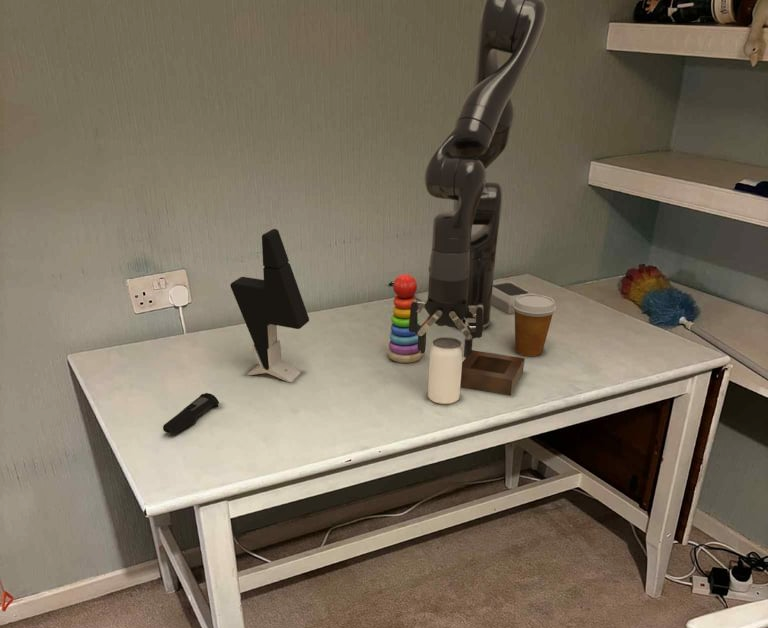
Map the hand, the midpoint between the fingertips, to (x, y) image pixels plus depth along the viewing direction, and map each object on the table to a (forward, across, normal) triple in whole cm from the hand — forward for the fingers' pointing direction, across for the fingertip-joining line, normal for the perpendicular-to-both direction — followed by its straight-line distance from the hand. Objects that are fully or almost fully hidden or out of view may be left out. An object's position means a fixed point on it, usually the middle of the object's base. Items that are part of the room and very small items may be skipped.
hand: (444, 354), depth 153 cm
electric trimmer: (+10, +46, +20) cm, 51 cm away
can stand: (+10, -9, -11) cm, 17 cm away
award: (+10, +37, -4) cm, 38 cm away
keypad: (+10, -10, -61) cm, 63 cm away
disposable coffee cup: (+10, -17, -28) cm, 34 cm away
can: (+10, 0, 0) cm, 10 cm away
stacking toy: (+10, +11, -19) cm, 24 cm away
